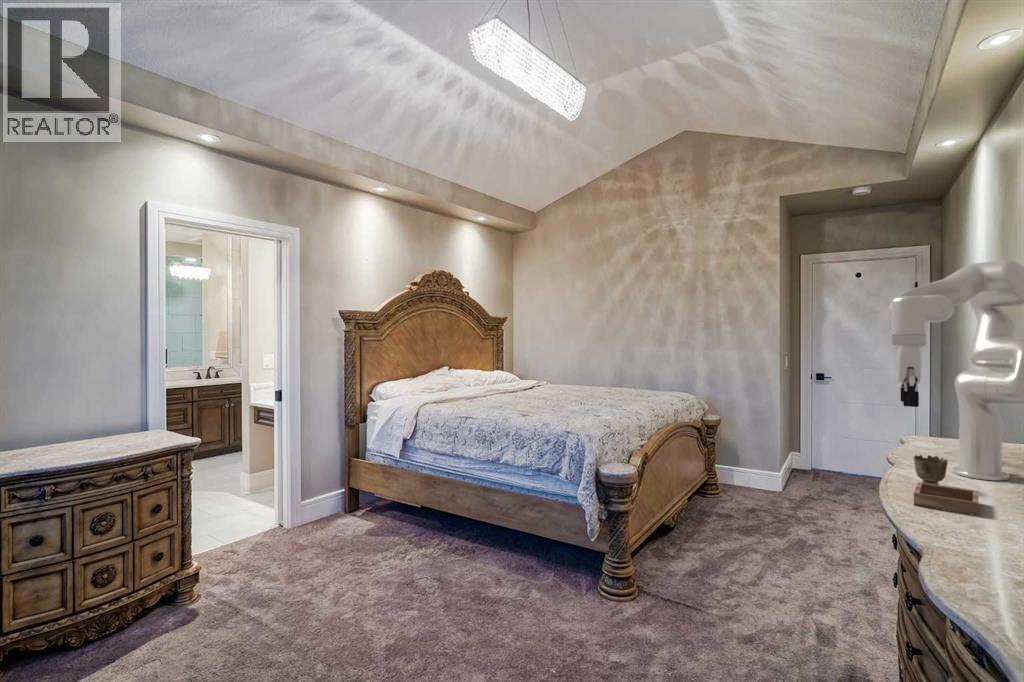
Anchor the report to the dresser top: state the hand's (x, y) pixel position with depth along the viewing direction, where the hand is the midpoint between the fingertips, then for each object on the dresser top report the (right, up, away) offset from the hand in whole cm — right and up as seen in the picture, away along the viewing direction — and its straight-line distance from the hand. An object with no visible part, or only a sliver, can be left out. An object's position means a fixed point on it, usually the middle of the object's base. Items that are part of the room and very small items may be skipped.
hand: (909, 404), depth 140 cm
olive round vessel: (+9, -24, +4) cm, 26 cm away
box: (+1, -24, -11) cm, 26 cm away
